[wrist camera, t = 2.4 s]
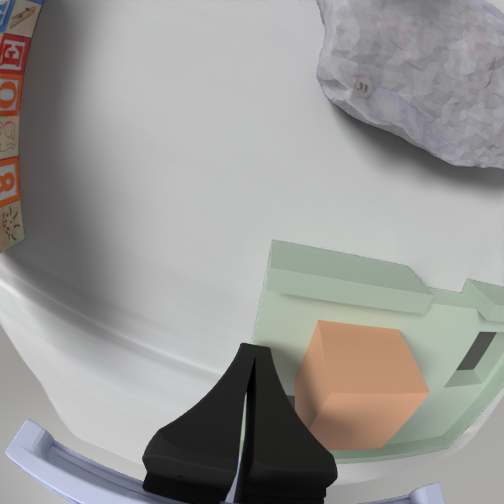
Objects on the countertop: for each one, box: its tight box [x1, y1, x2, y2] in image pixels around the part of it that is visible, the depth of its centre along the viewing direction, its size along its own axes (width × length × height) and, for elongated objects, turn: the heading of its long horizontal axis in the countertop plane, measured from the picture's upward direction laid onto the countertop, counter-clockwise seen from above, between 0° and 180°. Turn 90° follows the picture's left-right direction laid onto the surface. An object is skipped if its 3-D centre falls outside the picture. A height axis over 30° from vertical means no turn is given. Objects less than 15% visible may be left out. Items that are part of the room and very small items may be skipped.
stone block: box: [317, 0, 504, 170], centre depth 8 cm, size 12×5×10 cm
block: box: [294, 320, 430, 450], centre depth 11 cm, size 4×4×4 cm
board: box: [239, 240, 504, 464], centre depth 15 cm, size 16×21×3 cm
